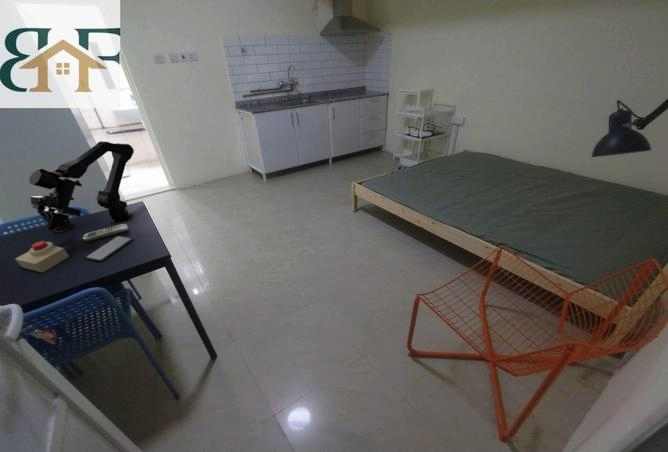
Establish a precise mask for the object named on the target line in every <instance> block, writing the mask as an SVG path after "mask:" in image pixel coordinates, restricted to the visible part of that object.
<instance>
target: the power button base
mask: <svg viewBox="0 0 668 452" xmlns="http://www.w3.org/2000/svg"><path fill="white" fill-rule="evenodd" d="M45 242H46V244H47V245H48V246H47V247H46V248H44V249H41V250H38V251H35V250H34V249H33V248H32V247H31V248H29V250H28V251H27V252H25V253H23V254H21V255H19V256H17V257H16V258H14V260H15V261H16V262H17V263H18V265H19V266H20V267H21V268H23V269H27V270H31V271H35V272H39V273H42V274H44V273H45V272H46V271H49V270H50V269H52V268H53V267H55V266H57V265H58V264H60V263H62V262H63V261H65V260H66V259H68V258H70V254H68V252H67V251H66V250H65V248H64V247H60V246H56V245H55V244H54V243H53V242H51V241H45Z"/></svg>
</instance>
